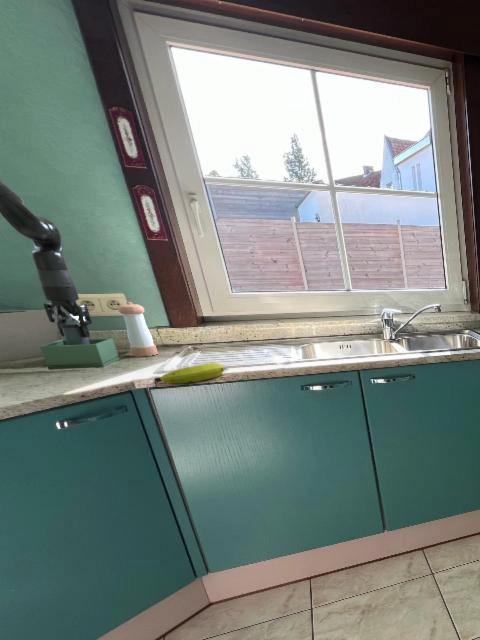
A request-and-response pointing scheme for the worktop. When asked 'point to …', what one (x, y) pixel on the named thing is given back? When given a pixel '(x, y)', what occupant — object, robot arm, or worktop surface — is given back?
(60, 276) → the robot arm
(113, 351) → the tote
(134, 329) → the salt shaker
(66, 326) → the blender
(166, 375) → the banana
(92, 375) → the worktop surface
